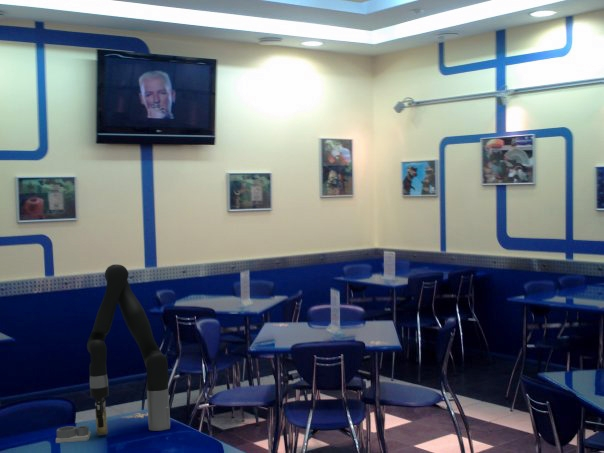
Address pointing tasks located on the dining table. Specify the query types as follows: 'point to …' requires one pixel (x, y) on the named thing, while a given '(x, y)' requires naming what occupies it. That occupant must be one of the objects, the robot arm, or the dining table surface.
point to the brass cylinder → (104, 429)
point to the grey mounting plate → (72, 434)
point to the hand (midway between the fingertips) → (101, 425)
